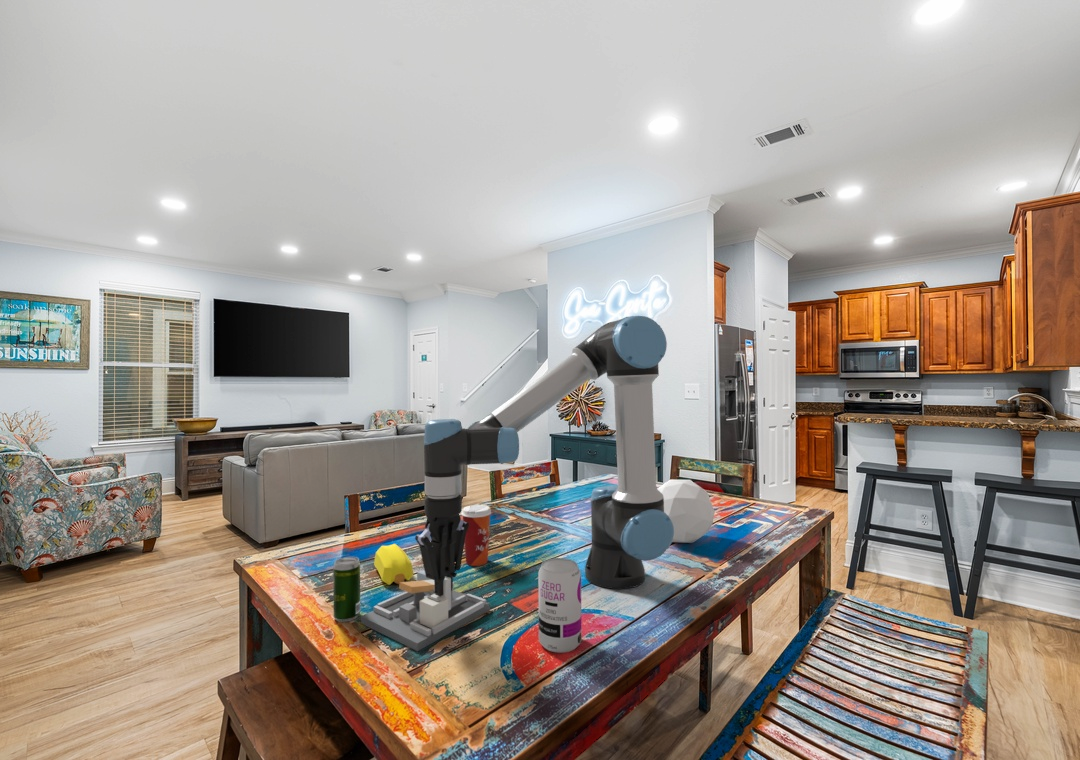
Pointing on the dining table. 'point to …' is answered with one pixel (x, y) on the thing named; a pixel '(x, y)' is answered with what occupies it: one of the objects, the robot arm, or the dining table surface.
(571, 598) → the supplement can
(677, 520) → the geometric orb
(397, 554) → the yellow faceted dome
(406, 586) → the rocker
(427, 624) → the slider
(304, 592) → the dining table surface
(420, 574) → the slider
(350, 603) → the beer can
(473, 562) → the coffee cup
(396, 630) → the grey slider track base
